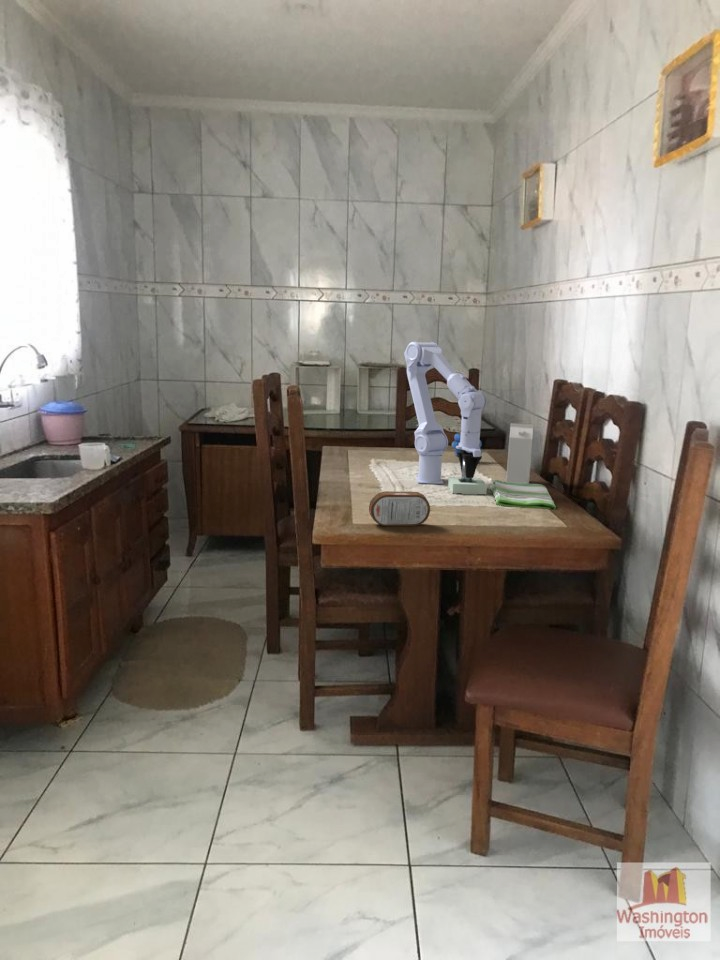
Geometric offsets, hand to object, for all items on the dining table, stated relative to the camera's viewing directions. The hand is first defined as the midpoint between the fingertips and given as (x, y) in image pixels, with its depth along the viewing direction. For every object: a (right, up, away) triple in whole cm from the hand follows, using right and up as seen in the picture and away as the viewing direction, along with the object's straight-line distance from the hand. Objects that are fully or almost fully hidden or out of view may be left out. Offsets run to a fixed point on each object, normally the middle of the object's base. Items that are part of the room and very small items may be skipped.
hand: (467, 476), depth 220 cm
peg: (0, -3, +1) cm, 4 cm away
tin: (-23, -13, -41) cm, 48 cm away
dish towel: (+15, -7, -7) cm, 18 cm away
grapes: (+7, +5, +48) cm, 49 cm away
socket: (0, -4, +1) cm, 4 cm away
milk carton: (+19, -2, +16) cm, 25 cm away
